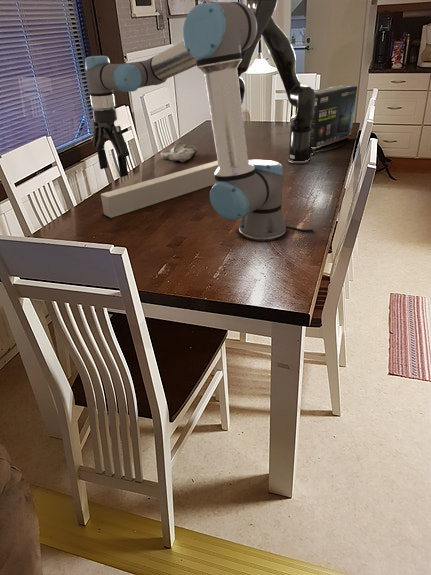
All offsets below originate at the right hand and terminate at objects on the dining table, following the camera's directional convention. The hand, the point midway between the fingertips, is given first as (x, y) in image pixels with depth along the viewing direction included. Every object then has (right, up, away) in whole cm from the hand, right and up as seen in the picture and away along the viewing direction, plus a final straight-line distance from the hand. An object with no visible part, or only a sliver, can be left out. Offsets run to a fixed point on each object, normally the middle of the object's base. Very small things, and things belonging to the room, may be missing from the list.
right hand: (234, 168), depth 201 cm
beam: (-22, -14, -15) cm, 30 cm away
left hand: (-44, -12, -39) cm, 60 cm away
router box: (+51, +25, +44) cm, 71 cm away
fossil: (-27, +12, +29) cm, 41 cm away
